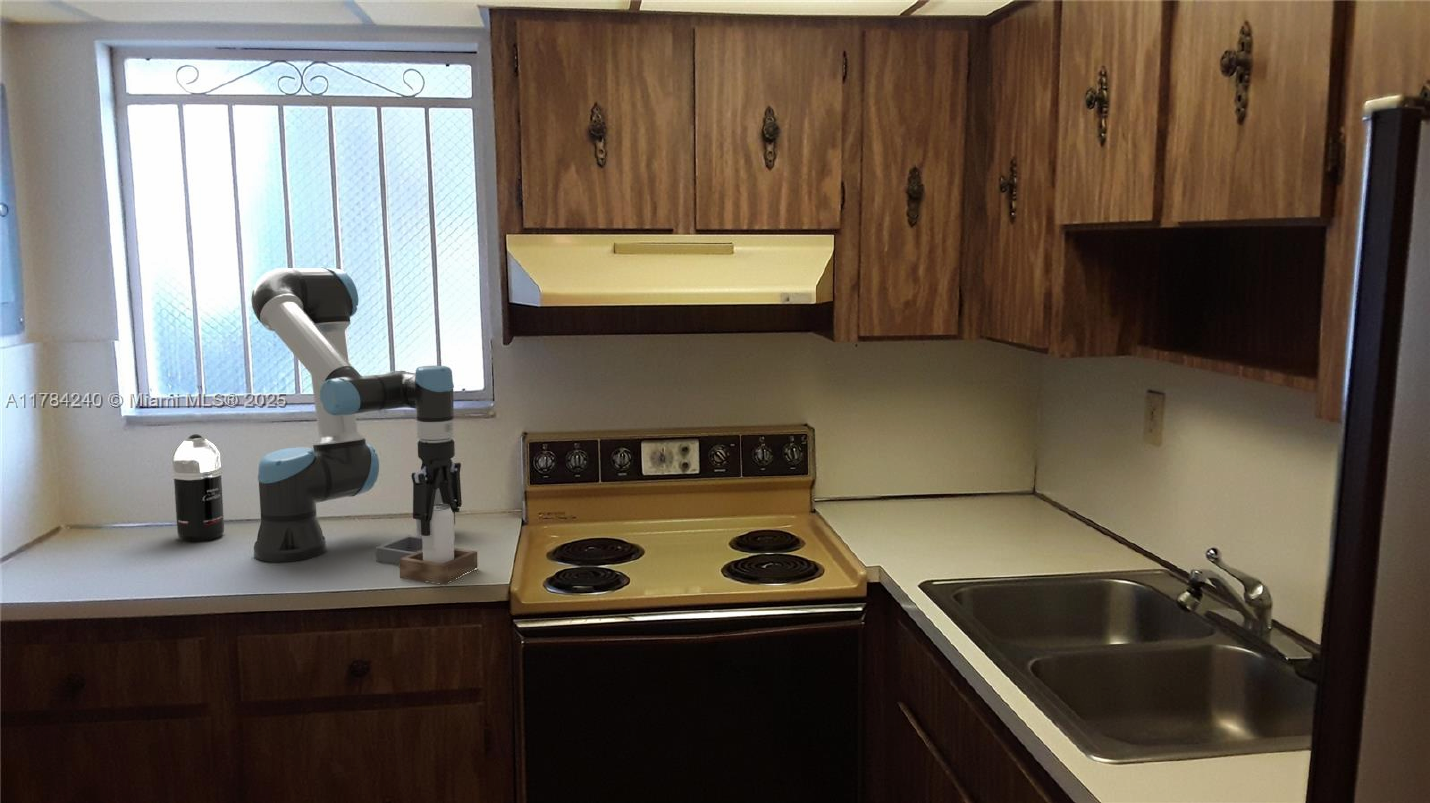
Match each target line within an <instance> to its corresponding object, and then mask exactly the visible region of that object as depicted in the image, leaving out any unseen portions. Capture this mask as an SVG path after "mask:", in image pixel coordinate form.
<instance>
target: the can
mask: <svg viewBox="0 0 1430 803" xmlns="http://www.w3.org/2000/svg"><path fill="white" fill-rule="evenodd" d="M426 515H427V514H426ZM431 520H434V548H435V550H434V551H430V550H424V549H423V561H428V562H434V563H440V564H444V563H446V562H448V561H450V560H453V559H454V548H455V542H454V528H453V512H452V510H451V505H449V504H441V503H439V504H434V507H433V513H432V519H431Z"/></svg>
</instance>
